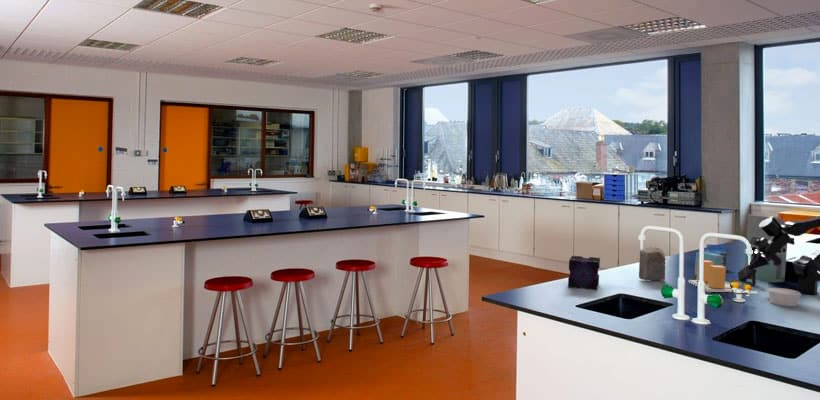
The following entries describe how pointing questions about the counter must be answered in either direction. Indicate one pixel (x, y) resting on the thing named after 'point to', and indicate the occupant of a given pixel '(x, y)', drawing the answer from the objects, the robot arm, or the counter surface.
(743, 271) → the gun
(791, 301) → the ramekin
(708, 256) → the data package
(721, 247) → the label tape box
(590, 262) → the energy cube
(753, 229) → the device
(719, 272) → the orange rectangular block
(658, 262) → the geological specimen
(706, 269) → the tab
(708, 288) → the dip bank
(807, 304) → the counter surface
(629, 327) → the counter surface
